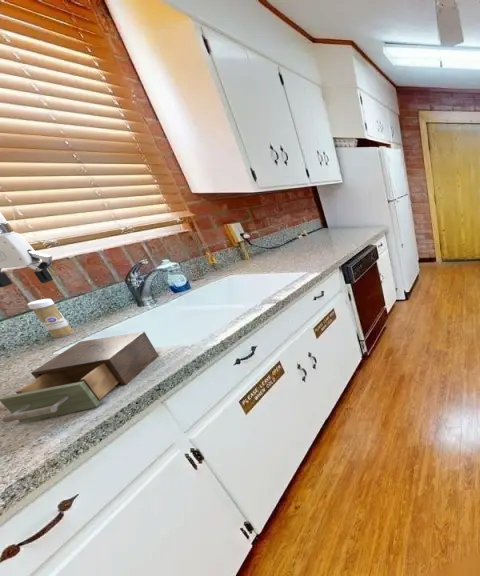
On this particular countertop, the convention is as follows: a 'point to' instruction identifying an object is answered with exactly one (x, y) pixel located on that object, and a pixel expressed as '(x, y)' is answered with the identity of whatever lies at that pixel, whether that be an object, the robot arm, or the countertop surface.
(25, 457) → the countertop surface
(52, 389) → the drawer
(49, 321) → the sprinkles bottle
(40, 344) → the countertop surface
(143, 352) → the cabinet
